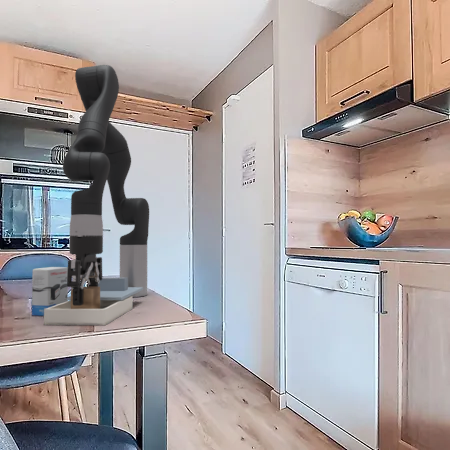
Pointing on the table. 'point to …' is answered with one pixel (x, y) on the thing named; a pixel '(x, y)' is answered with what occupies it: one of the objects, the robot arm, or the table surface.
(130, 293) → the lid
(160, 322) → the table surface
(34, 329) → the table surface
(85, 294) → the parcel
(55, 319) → the beige shallow tray
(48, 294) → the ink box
